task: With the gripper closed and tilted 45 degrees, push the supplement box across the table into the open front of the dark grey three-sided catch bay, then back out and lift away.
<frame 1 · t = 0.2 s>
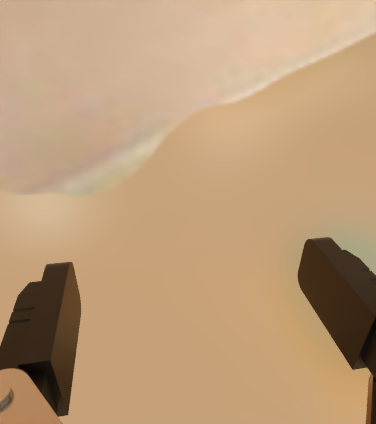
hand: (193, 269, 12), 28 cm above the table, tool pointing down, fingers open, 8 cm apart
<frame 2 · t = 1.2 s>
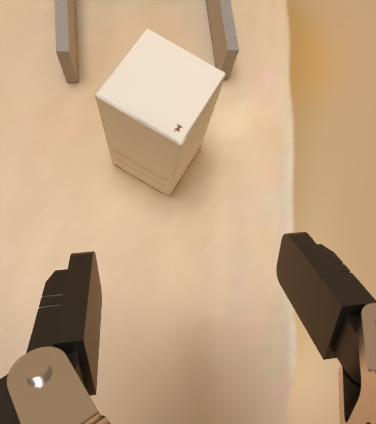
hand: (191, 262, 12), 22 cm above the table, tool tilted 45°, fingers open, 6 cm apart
catch bay: (145, 29, 41), on the table
supplement box: (157, 154, 37), on the table
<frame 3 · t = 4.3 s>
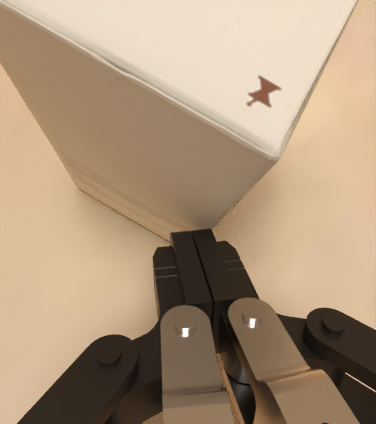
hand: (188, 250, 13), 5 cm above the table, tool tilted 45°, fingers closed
supplement box: (164, 167, 19), on the table, touching gripper
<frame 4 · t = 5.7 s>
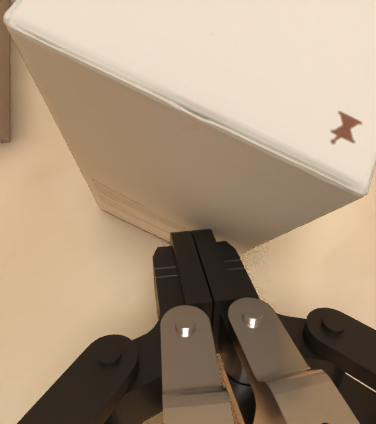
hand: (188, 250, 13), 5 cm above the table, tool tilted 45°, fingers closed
catch bay: (147, 30, 21), on the table
supplement box: (184, 180, 19), on the table, touching gripper
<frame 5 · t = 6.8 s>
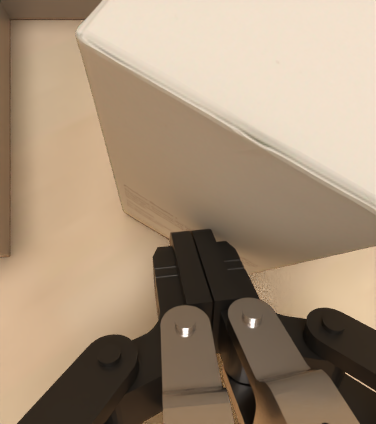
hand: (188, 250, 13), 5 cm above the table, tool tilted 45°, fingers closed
catch bay: (157, 120, 20), on the table
supplement box: (208, 190, 19), on the table, touching gripper
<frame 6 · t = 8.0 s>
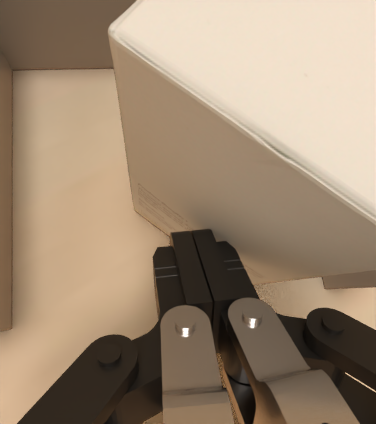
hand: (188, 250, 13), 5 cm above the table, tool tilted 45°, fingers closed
catch bay: (165, 177, 19), on the table
supplement box: (220, 196, 19), on the table, touching gripper
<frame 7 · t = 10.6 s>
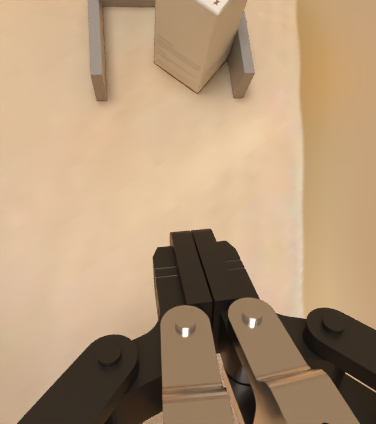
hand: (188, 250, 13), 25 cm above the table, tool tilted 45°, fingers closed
catch bay: (167, 51, 44), on the table
supplement box: (190, 61, 44), on the table
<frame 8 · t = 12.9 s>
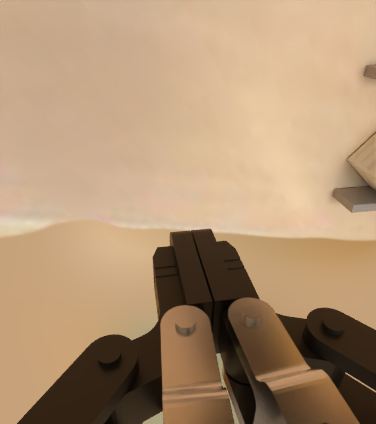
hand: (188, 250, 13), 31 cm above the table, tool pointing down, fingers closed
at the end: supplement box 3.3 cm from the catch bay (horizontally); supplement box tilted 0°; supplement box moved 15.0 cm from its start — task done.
